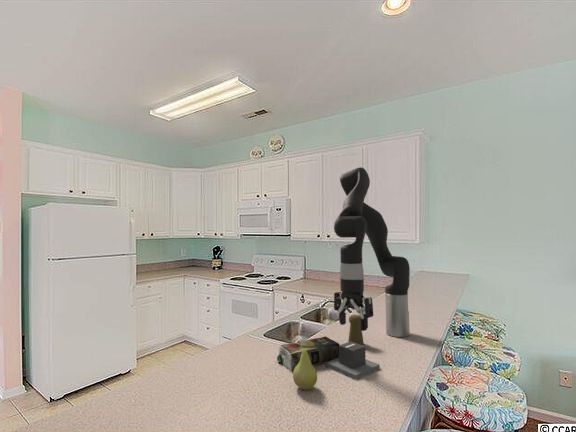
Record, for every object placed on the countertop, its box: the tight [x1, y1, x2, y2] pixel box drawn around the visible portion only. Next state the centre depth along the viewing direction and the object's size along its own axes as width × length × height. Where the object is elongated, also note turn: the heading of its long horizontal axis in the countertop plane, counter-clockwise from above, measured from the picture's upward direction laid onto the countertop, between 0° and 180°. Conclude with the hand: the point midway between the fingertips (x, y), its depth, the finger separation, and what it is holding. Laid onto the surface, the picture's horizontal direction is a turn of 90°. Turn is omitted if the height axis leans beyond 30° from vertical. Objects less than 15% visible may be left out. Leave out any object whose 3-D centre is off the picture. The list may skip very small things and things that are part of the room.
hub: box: [325, 358, 380, 380], centre depth 99 cm, size 12×12×5 cm
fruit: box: [292, 340, 318, 391], centre depth 86 cm, size 7×8×12 cm
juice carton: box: [276, 336, 341, 371], centre depth 105 cm, size 20×10×6 cm, turn 116°
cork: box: [347, 314, 365, 346], centre depth 121 cm, size 6×6×11 cm
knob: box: [339, 341, 367, 369], centre depth 99 cm, size 6×6×6 cm
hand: (353, 327), depth 100 cm, fingers open, 8 cm apart
